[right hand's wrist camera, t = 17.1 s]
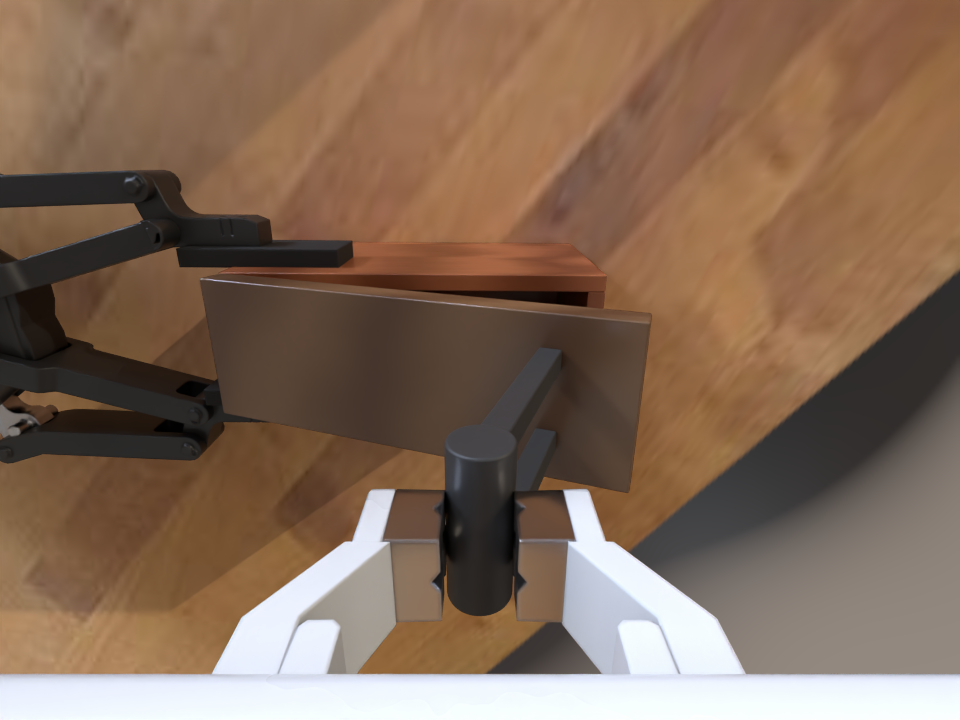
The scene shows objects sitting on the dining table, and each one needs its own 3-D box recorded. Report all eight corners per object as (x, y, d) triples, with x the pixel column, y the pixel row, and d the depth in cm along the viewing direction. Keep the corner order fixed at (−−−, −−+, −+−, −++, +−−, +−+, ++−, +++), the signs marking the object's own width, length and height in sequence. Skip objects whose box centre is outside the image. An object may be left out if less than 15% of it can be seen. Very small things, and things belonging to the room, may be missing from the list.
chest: (570, 243, 28) (607, 275, 20) (564, 340, 30) (594, 404, 22) (292, 241, 28) (217, 272, 20) (303, 338, 30) (239, 401, 22)
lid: (652, 313, 15) (629, 438, 8) (631, 475, 17) (598, 690, 10) (221, 272, 20) (-23, 330, 13) (243, 402, 22) (40, 513, 15)
